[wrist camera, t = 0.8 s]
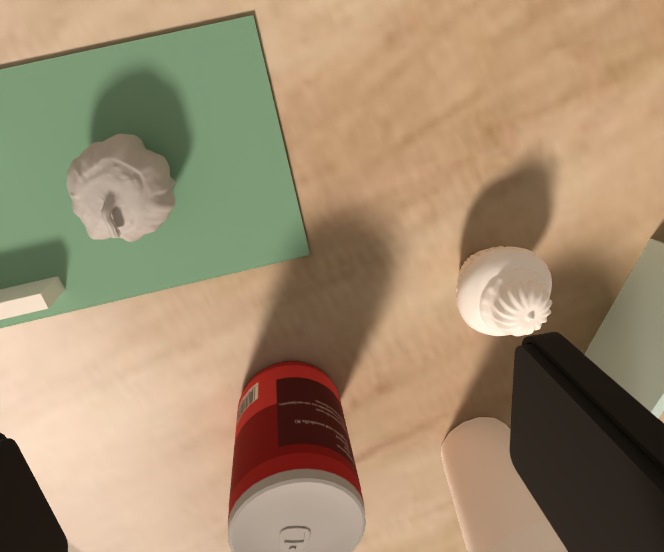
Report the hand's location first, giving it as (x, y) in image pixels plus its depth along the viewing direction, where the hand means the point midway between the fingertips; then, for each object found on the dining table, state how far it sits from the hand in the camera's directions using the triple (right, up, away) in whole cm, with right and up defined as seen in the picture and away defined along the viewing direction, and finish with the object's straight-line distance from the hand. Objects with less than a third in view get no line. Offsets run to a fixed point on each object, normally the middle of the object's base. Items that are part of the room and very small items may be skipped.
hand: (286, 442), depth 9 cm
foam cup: (+13, -11, +31) cm, 35 cm away
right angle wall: (+28, 0, +29) cm, 40 cm away
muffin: (+11, +4, +24) cm, 27 cm away
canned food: (-2, -6, +26) cm, 27 cm away
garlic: (-11, +9, +18) cm, 23 cm away
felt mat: (-15, +8, +18) cm, 25 cm away
